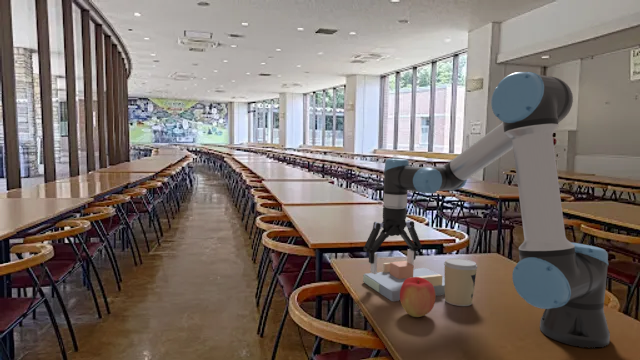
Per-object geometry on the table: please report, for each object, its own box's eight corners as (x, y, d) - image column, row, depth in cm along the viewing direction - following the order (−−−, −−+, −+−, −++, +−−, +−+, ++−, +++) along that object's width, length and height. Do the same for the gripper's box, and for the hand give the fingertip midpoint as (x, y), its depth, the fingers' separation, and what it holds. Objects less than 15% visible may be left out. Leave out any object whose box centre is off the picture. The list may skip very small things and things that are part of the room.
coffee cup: (479, 308, 127) (481, 266, 126) (445, 306, 127) (448, 265, 127) (470, 297, 136) (472, 258, 135) (439, 295, 137) (441, 257, 136)
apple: (392, 310, 124) (393, 275, 123) (421, 307, 127) (423, 273, 126) (411, 324, 115) (412, 287, 114) (441, 320, 118) (443, 283, 117)
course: (458, 292, 140) (459, 274, 139) (391, 301, 131) (392, 281, 130) (424, 275, 156) (425, 259, 156) (363, 282, 147) (363, 264, 147)
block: (413, 277, 144) (413, 265, 144) (398, 278, 142) (399, 266, 142) (404, 272, 149) (404, 260, 149) (389, 273, 148) (390, 262, 147)
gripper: (421, 203, 150) (418, 264, 152) (354, 206, 141) (352, 271, 143) (434, 207, 143) (431, 271, 145) (365, 210, 134) (362, 278, 136)
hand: (392, 271), depth 144 cm, fingers open, 13 cm apart
